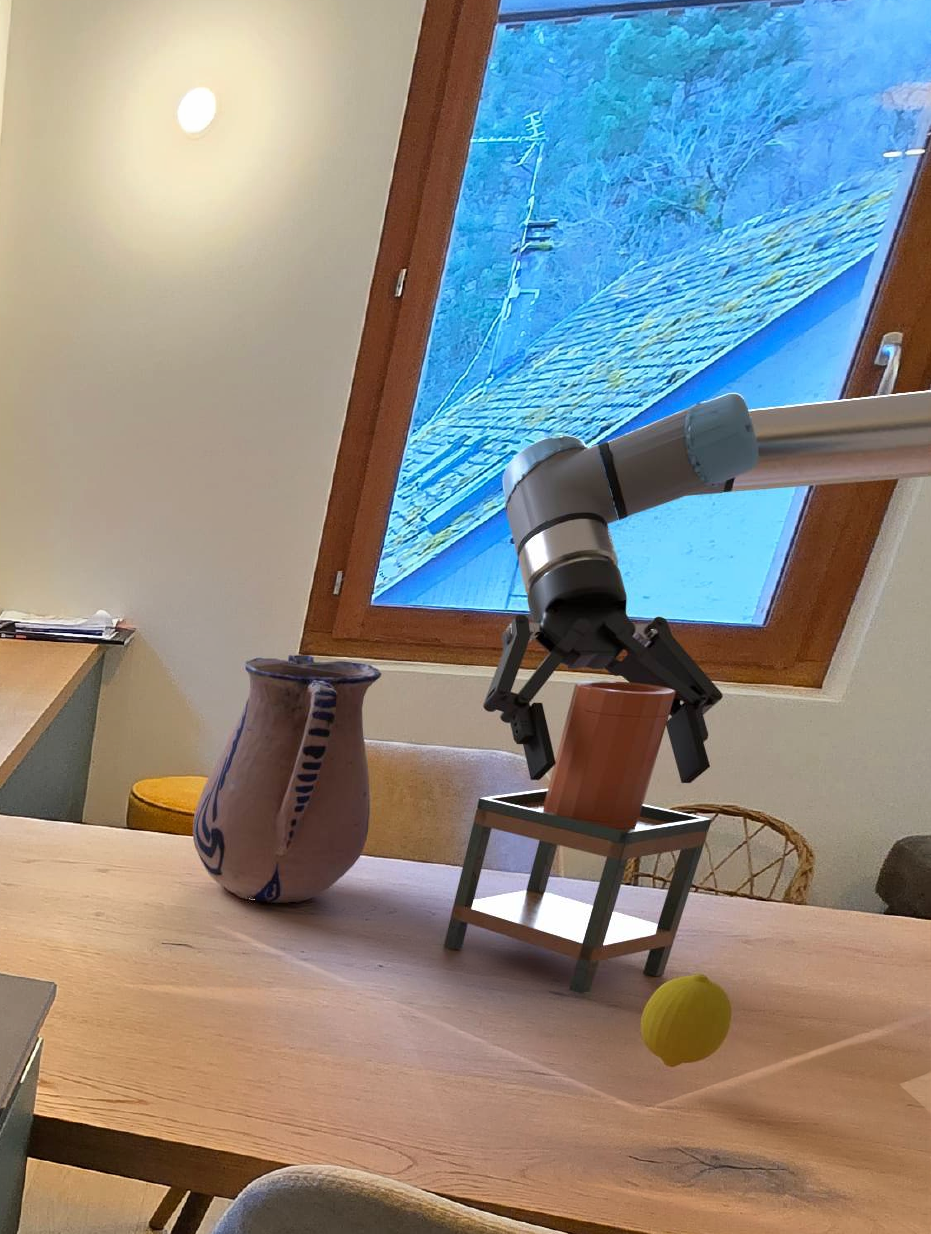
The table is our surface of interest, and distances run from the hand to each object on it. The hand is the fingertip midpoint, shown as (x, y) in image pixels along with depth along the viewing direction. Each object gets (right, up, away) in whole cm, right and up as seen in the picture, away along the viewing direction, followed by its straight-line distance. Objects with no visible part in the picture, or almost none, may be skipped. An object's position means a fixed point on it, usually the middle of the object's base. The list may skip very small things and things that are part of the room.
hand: (619, 773), depth 118 cm
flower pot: (0, -3, +4) cm, 5 cm away
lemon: (-5, -26, -13) cm, 29 cm away
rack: (0, -16, +10) cm, 19 cm away
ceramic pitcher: (-19, -9, +28) cm, 35 cm away
